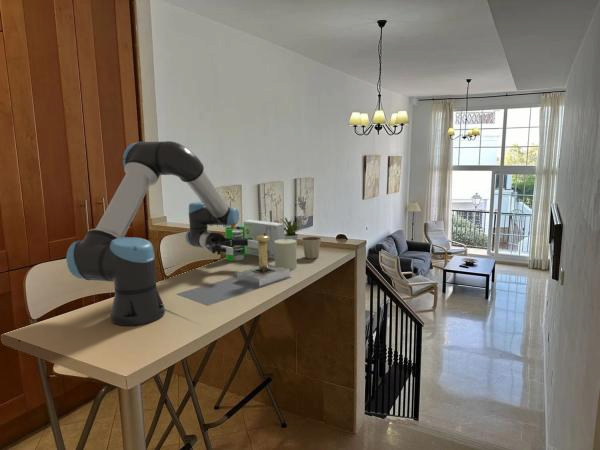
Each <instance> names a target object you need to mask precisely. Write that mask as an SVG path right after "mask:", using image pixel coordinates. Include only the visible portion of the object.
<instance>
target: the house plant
mask: <svg viewBox="0 0 600 450" xmlns="http://www.w3.org/2000/svg"><path fill="white" fill-rule="evenodd" d="M292 217H293V215H291V218H292ZM276 218H278V219H279V220H280V223H282V224H284V239H293V240H296V247H297V245H298V238H299V234H298V233H296V232H299V230H300V229H301V227H302V225H301V226H300V225H298V223H300V221H301V220H302V219H303V217H301V218H299V220H296V218H295V217H293V219H290V221H289V220H288V218H287V217H286V216H284V220H283V219H282V218H281V217H278V216H276Z"/></svg>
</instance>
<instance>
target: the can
mask: <svg viewBox="0 0 600 450" xmlns="http://www.w3.org/2000/svg"><path fill="white" fill-rule="evenodd" d="M274 247H275V259H274V266H278V267H282V268H287V269H290V271H291V270H295V269H297V267H298V264H297V263H298V262H297V246H296V240H293V239H285V238H284V239H279V240H275V241H274Z"/></svg>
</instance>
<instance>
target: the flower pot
mask: <svg viewBox="0 0 600 450" xmlns="http://www.w3.org/2000/svg"><path fill="white" fill-rule="evenodd" d="M300 240H301V243H302V247H303V253H304V258H306V259H309V258H310V259H315V258H316V259H317V258H319V255H320V254H319V253H320V246H321V242H322V237H319V236H304V237H301V238H300Z"/></svg>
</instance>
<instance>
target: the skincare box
mask: <svg viewBox="0 0 600 450" xmlns="http://www.w3.org/2000/svg"><path fill="white" fill-rule="evenodd" d="M242 222H243V227H245V238H249V237H250V238H252V239H253V240H254V241H256V240H255V237H256V236H261V235H267V236H269V239H270V240H268V241H267V257H268V259H273V260H275V247H274V241H275V240H279V239H285V238H284V234H285V231H284V225H285V224H284V223H283V222H282V223H283V224H282V223H281V222H280V223H279V222H271V221H264V220H256V219H248V220H247V219H246V220H243V221H242ZM245 255H251V256H257V257H259V249H258V248H253V247H248V246H245Z"/></svg>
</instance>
